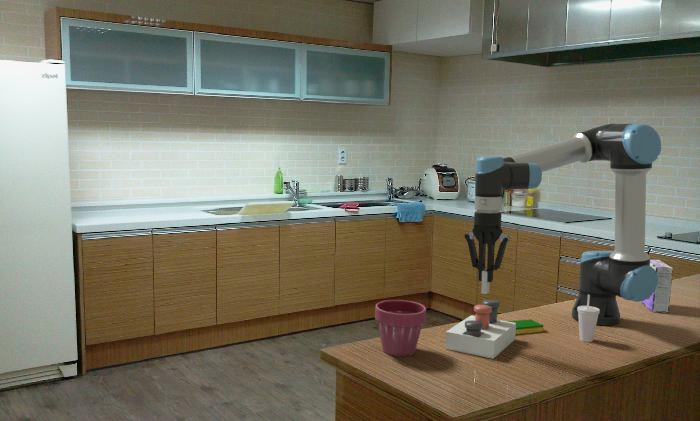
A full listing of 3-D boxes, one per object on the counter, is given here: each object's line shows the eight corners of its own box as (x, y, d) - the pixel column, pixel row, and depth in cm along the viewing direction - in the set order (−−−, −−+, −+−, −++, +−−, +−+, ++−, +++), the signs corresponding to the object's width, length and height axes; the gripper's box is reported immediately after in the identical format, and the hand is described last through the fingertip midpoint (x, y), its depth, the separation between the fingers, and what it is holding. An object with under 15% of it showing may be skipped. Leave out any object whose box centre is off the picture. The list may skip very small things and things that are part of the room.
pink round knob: (493, 326, 187) (494, 306, 187) (487, 330, 183) (488, 310, 182) (476, 323, 190) (477, 303, 189) (470, 327, 186) (471, 307, 185)
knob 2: (500, 320, 193) (501, 301, 193) (495, 324, 189) (496, 305, 188) (484, 318, 196) (485, 298, 195) (479, 321, 192) (480, 302, 191)
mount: (515, 339, 192) (516, 323, 191) (493, 358, 175) (494, 340, 174) (470, 330, 199) (471, 315, 199) (445, 348, 182) (445, 331, 182)
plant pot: (432, 357, 175) (434, 311, 173) (383, 361, 171) (385, 314, 169) (412, 340, 188) (414, 298, 187) (367, 344, 184) (368, 300, 183)
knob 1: (484, 343, 182) (485, 322, 181) (478, 347, 178) (479, 326, 177) (467, 339, 184) (468, 319, 184) (461, 344, 180) (462, 323, 179)
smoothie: (571, 339, 193) (574, 294, 191) (580, 335, 198) (583, 290, 196) (592, 344, 189) (595, 298, 187) (601, 340, 193) (604, 294, 192)
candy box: (639, 302, 239) (643, 258, 237) (656, 303, 238) (660, 259, 236) (651, 312, 225) (655, 266, 223) (669, 313, 224) (673, 267, 222)
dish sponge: (543, 332, 201) (544, 325, 200) (505, 336, 196) (506, 328, 196) (530, 326, 207) (530, 318, 207) (493, 329, 203) (493, 322, 202)
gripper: (461, 211, 182) (459, 292, 185) (506, 214, 175) (503, 298, 178) (470, 208, 188) (468, 287, 191) (514, 211, 182) (511, 292, 185)
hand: (485, 292), depth 185 cm, fingers closed
